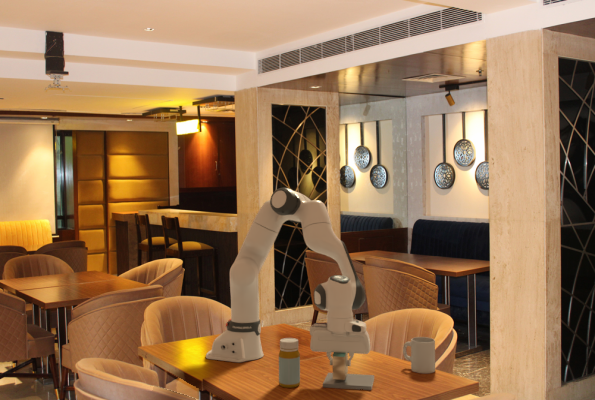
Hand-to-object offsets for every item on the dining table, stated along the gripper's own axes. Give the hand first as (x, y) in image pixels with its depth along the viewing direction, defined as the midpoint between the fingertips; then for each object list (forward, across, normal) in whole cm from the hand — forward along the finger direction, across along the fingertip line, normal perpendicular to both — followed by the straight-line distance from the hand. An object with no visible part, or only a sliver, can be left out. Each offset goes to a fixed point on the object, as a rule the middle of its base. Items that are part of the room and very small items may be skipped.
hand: (340, 365), depth 194 cm
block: (+3, 0, 0) cm, 3 cm away
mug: (+6, +26, +20) cm, 33 cm away
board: (+6, +3, 0) cm, 6 cm away
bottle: (+6, -16, -6) cm, 18 cm away
